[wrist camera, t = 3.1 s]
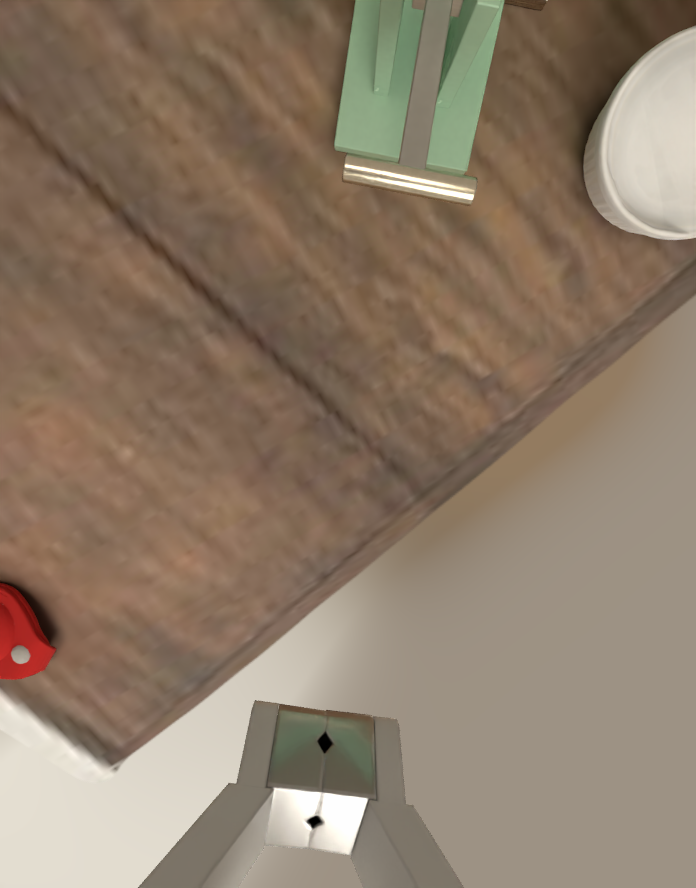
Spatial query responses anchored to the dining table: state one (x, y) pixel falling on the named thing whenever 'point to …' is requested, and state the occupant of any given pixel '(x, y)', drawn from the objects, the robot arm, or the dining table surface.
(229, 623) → the dining table surface
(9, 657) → the tracker holder
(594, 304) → the dining table surface
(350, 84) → the switch bracket
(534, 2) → the toaster
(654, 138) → the ramekin
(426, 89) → the lever
